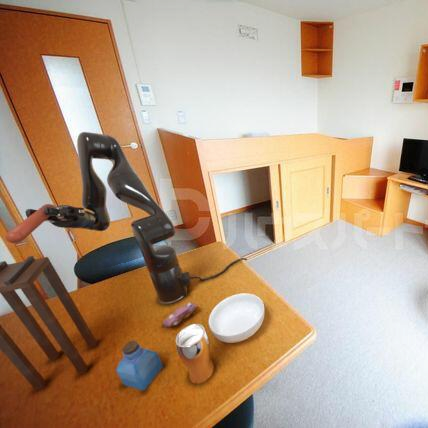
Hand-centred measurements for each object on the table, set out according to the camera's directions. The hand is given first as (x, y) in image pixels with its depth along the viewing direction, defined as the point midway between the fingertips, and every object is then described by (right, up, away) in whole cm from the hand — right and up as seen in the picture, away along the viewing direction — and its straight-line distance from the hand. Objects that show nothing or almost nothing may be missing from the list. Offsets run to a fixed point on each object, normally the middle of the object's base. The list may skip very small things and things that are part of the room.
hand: (37, 211), depth 67 cm
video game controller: (+33, -37, +14) cm, 51 cm away
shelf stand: (+9, -43, 0) cm, 44 cm away
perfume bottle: (+32, -45, -2) cm, 55 cm away
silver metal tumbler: (+47, -45, -1) cm, 65 cm away
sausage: (+2, -4, -1) cm, 5 cm away
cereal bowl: (+53, -38, +12) cm, 67 cm away
